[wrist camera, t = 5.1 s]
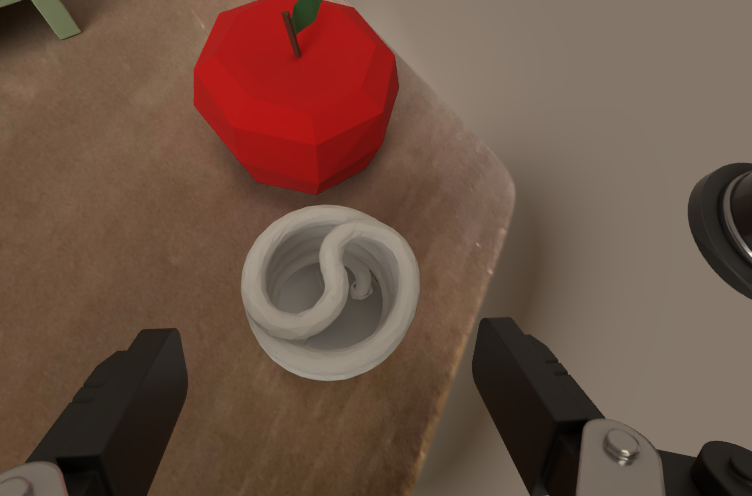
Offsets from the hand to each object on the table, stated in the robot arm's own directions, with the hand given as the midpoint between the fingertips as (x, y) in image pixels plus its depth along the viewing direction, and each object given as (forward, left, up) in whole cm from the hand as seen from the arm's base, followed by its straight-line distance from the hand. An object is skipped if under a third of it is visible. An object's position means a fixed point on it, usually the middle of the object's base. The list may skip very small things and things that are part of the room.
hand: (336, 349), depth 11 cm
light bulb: (-1, -2, -11) cm, 12 cm away
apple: (-7, -13, -11) cm, 19 cm away
